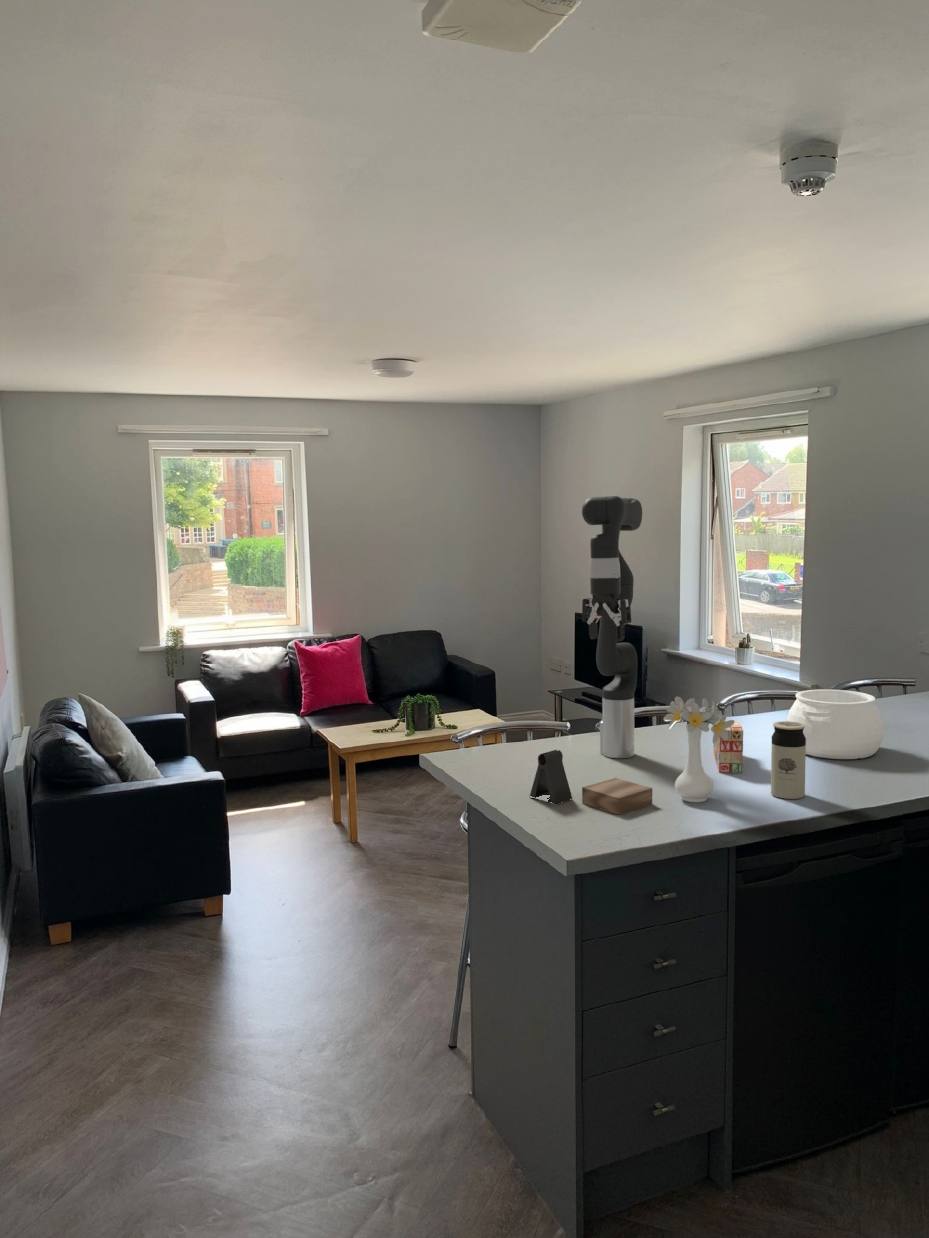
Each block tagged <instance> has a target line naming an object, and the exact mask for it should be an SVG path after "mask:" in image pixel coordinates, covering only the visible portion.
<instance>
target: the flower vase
mask: <svg viewBox="0 0 929 1238" xmlns="http://www.w3.org/2000/svg"><path fill="white" fill-rule="evenodd" d="M701 705H702V706H701V707H700V706H699V704H698V703H696V699H695V698H694V697H692V698H689V699H687V701H686V702H684V700H683V699H682V698H681V697H680V696H675V697H674V701H671V702H670V704H669V707H667V708H666V712H668V713H667V714H666V715H665V716H663V721H664V722H669V724H668V726H667V727H668V729H667V730H668V731H670V730H672V729H673V727H674V726H675V725H676V724H677V723H680V722H681V720H683V721H686V723H684V726H685V728H686V734H687V760H686V764H685V767H684V769H683V771H682V773H680V774H679V776H677V778H676V779H675V782H674V789H675V790H676V792H677V793H678V794H679V795H680V797H681V800H683V801H685V802H688V803H696V804H697V803H703V802H707V800H708V797H709V796H710V795H711V794H712V792H713V791H714V788H715V787H714V783H713V781H712V779H711V777H710V776H709V775H708V774H707V773H706V771H705V770H704V767H703V764H702V754H701V750H702V749H701V738H702V732H704V733H705V732H706V733H708V732H709V731H711V733H713V732H714V734H713V736H712V744H714V743H716V742H717V740H718V738H719V735H720V736H721V737H722V739H724V740H727V739H728V737H729V735H728V732H727V731H726V730H725V729H726V728H729V727H731V726H732V725H733V724H734V720H735V719H728V720H729V721H725V720H727V715H726V714H725V713H724V714H722V715H721V713H720V712H719V710H720V709H719V707H718V706H716V704H715V702H714V700H713V701H712V706H711V707H709V702H708V700H707V698H704V697H703V698H702V704H701ZM723 721H725V722H723ZM710 725H712V726H711V728H710V727H709V726H710ZM718 734H719V735H718Z"/></svg>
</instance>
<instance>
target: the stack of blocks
mask: <svg viewBox="0 0 929 1238" xmlns="http://www.w3.org/2000/svg"><path fill="white" fill-rule="evenodd" d="M729 720H730V719H726V720H725V721H729ZM733 720H734V724H733V725H732V726H731V727H729V728H726V729H725V730H726V731H727V732H728V735H729V737H728V739H727V740H724V739H722V737H721V736H720V735H719V734H718V735H719V738H718V740H717V742H716V743H713V756H714V759H715V761H716V765H717V769H718V773H719V774H743V768H744V767H743V766H744V764H743V757H744V756H743V753H744V729H743V726H742V725H741V722H740V721H739V720H738V719H733ZM725 721H723V722H725ZM712 733H713V734H714V732H712Z"/></svg>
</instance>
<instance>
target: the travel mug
mask: <svg viewBox="0 0 929 1238" xmlns="http://www.w3.org/2000/svg"><path fill="white" fill-rule="evenodd" d="M772 726H773V729H774V732H773V734H772V735H771V753H770V754H771V756H770V757H771V760H770V761H771V763H770V765H771V766H770V768H771V770H770V794H771V795H772V796H774V797H776V798H778V797H779V798H778V799H782V798H784V799H783V800H799V799H802V798H804V797H805V796H806V757H807V756H806V755H807V754H806V738H805V736H804V734H803V729H804V727H805V725H804V724H802V723H799V722H792V721H787V720H783V721H782V720H781V721H775V722H773V723H772Z"/></svg>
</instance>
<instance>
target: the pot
mask: <svg viewBox="0 0 929 1238" xmlns="http://www.w3.org/2000/svg"><path fill="white" fill-rule="evenodd" d="M795 698H796V700H795V701H794V703H793V704H792V705H791V707H790V708H789V711H788V713H787V714H788V715H787V719H786V721H792V722H799V723H802V724H804V725H805V727H804V729H803V734H804V736H805V738H806V755H808V756H811V757H815V758H820V759H821V758H822V759H830V760H859V759H858V758H860V759H864V758H868V757H871V756H874V755H875V753H877V751H878V750H879V748H880V746H881V745H882V743H883V738H884V731H885V730H884V729H885V728H884V721H883V719H882V715H881V713H880V711H879V709H878V707H877V706H876V704H875V701H876V697H875V695H872V694H868V693H865V692H860V691H854V690H843V689H809V690H808V689H807V690H802V691H799V692H796V693H795Z"/></svg>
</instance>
